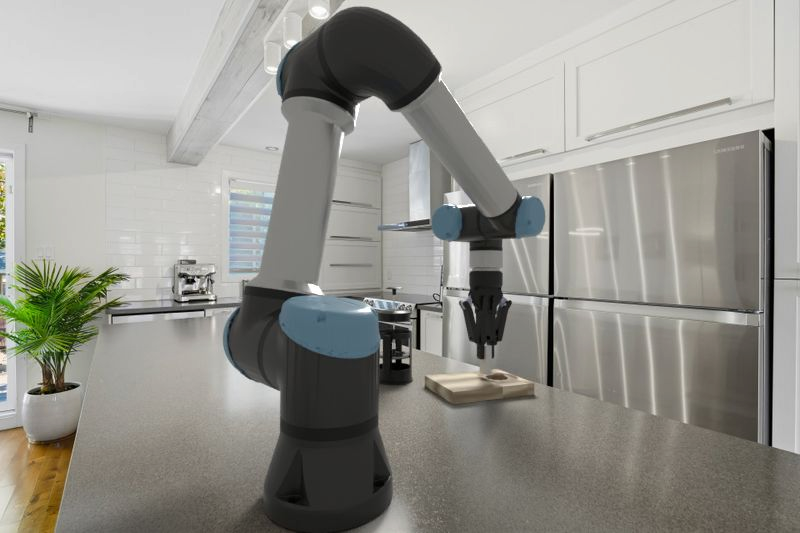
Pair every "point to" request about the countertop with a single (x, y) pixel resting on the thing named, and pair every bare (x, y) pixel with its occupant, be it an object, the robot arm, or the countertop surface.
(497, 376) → the ball
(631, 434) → the countertop surface
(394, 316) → the french press
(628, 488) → the countertop surface
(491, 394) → the cutting board
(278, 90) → the robot arm
